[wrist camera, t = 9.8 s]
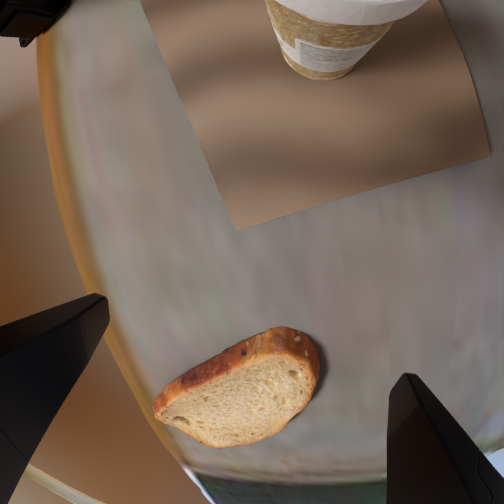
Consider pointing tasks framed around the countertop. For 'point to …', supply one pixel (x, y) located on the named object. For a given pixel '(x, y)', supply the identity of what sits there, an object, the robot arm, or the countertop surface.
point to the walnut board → (315, 107)
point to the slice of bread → (243, 390)
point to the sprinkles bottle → (332, 31)
